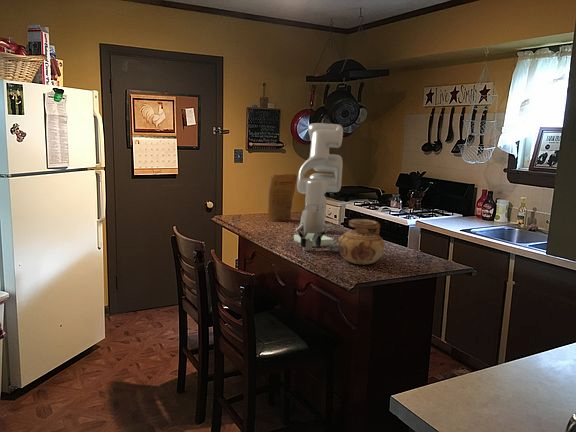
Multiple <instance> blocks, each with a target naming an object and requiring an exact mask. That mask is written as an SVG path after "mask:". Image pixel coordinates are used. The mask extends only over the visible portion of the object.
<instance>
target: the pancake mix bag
mask: <svg viewBox="0 0 576 432" xmlns="http://www.w3.org/2000/svg"><path fill="white" fill-rule="evenodd" d="M297 180H298V174H295V173H293V174H292V173H289V174H288V173H287V174H286V173H285V174H272V176H271V177H270V181H269V188H268V197H267V198H268V199H267V202H268V203H267V205H268V206H267V220H266V221H267V222H273V221H275V222H290V221H291V220H292V215H291V213H292V207H293V198H294V196H295V195H294V194H295V191H296V190H295V189H296V186H297Z"/></svg>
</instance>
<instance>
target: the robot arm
mask: <svg viewBox="0 0 576 432" xmlns="http://www.w3.org/2000/svg"><path fill="white" fill-rule="evenodd" d="M343 128H344V127H343V126H342V125H341V124H336V123H325V122H314V123H310V124H309V125H308V127H307V130H308V131H307V132H308V135H309V138H310V140H311V141H310V151H309V157H308V158H307V160H305V161H304V162H303V163H302V165H301V166H300V167H299V169H298V174H297V179H296V189H297V192H298V193H299V194H303V195H305V200H304V210H302V212H301V217H300V223H299V226H298V227H296V228H295V232H296V234H298V235H299V236H300V237H301V243H299V244H300V247H301V248H303V247H306V239H305V237H306V235H307V234H313V233H318V234H319V236H318V238H317V240H316V245H317V247H321V246H320V244H321V238H322V237H323V235H324V236H325V234H326V233H328V229H331V228H333V224H332V223H326V214H327V213H326V212H327V211H326V210H327V198H326V196H325V195H326V193H338V192H339V191H341V188H342V178H343V177H342V176H343V165H344V163H343V157H342V155H340V154H333V153H331V154H330V149H331V148H332V149H333V148H334V149H339V148H340V147H341V146H342V142H343V136H344V129H343ZM311 169H313V170H314V171H315V173H312V174H311V175H309V177H305V174H306V173H307V172H308V171H309V170H311ZM316 172H318V173H316ZM320 172H321V173H320Z"/></svg>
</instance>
